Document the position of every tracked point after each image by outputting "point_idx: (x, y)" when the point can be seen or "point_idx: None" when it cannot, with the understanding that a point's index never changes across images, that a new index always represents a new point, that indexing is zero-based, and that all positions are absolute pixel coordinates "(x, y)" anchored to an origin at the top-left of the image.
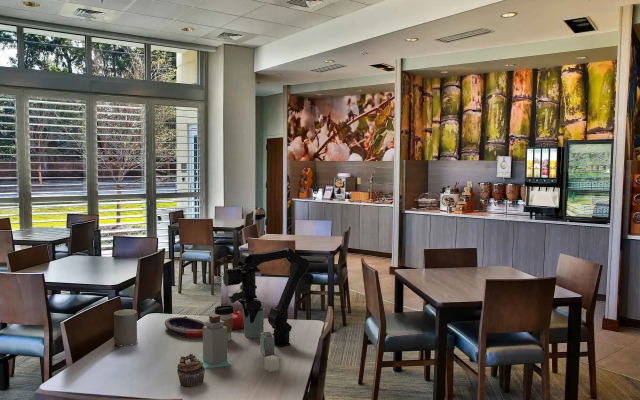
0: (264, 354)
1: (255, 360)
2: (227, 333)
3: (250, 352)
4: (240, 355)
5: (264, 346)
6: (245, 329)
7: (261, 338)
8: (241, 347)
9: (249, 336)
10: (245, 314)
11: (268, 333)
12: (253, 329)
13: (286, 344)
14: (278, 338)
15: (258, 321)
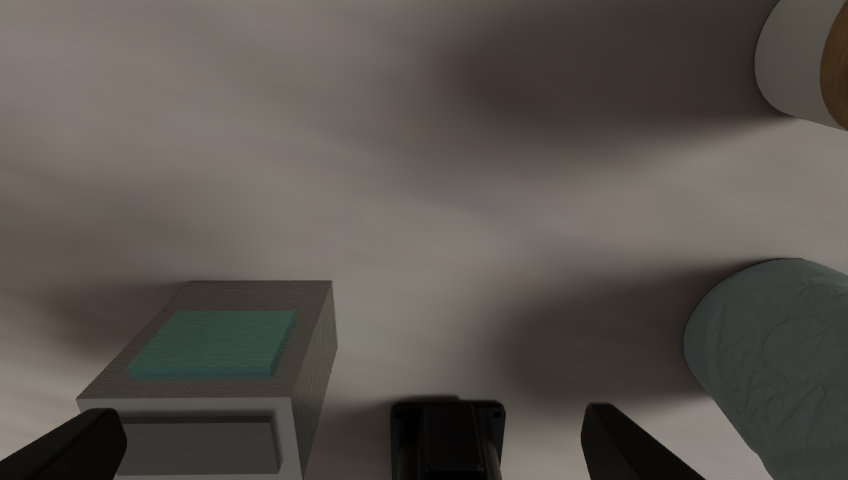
0: (196, 290)
1: (126, 194)
2: (820, 66)
3: (340, 202)
4: (287, 96)
5: (155, 331)
6: (822, 291)
7: (218, 360)
8: (503, 157)
9: (725, 286)
10: (612, 457)
11: (206, 462)
12: (742, 356)
13: (392, 466)
14: (411, 466)
15: (780, 460)
